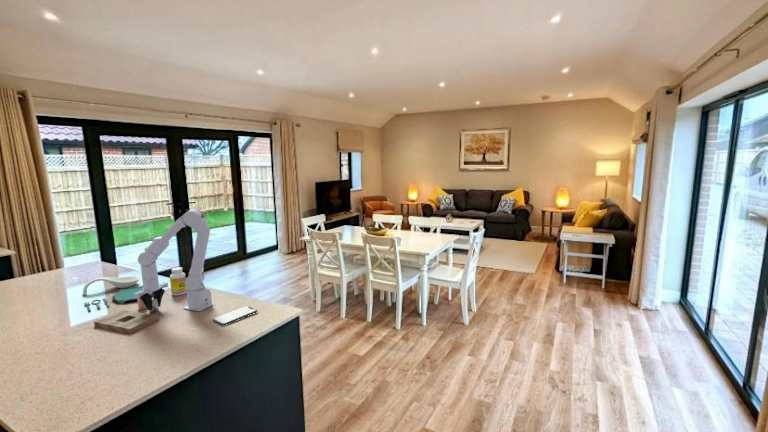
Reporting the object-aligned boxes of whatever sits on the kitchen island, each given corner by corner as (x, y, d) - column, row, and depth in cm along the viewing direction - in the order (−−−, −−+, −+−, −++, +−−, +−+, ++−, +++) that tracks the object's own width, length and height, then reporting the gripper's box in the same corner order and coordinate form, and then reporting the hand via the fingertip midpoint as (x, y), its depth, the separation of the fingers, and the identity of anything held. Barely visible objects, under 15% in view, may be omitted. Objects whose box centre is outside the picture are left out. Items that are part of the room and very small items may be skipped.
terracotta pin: (149, 307, 163) (148, 294, 162) (142, 310, 160) (140, 297, 159) (144, 306, 164) (142, 293, 163) (136, 309, 161) (134, 296, 160)
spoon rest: (138, 281, 200) (136, 268, 199) (141, 286, 191) (140, 273, 190) (82, 292, 184) (80, 278, 183) (84, 298, 176) (82, 284, 174)
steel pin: (160, 310, 160) (159, 297, 159) (153, 313, 156) (151, 300, 155) (155, 309, 161) (153, 296, 160) (147, 312, 158) (146, 299, 157)
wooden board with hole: (158, 320, 150) (158, 316, 149) (130, 333, 139) (129, 329, 138) (124, 314, 156) (123, 309, 156) (94, 326, 145) (93, 321, 145)
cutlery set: (165, 295, 178) (165, 291, 177) (87, 315, 157) (86, 310, 157) (155, 286, 192) (155, 281, 191) (83, 303, 171) (82, 298, 171)
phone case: (223, 328, 144) (258, 313, 156) (222, 324, 143) (258, 310, 156) (211, 322, 149) (246, 308, 162) (211, 318, 149) (246, 305, 161)
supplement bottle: (180, 296, 176) (177, 271, 174) (168, 295, 177) (165, 270, 175) (190, 291, 182) (187, 266, 180) (178, 290, 184) (176, 266, 182)
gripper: (158, 272, 164) (161, 300, 166) (126, 282, 151) (131, 313, 153) (170, 273, 162) (173, 302, 164) (139, 284, 148) (143, 315, 151)
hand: (153, 307), depth 158 cm, fingers closed on steel pin, 3 cm apart
